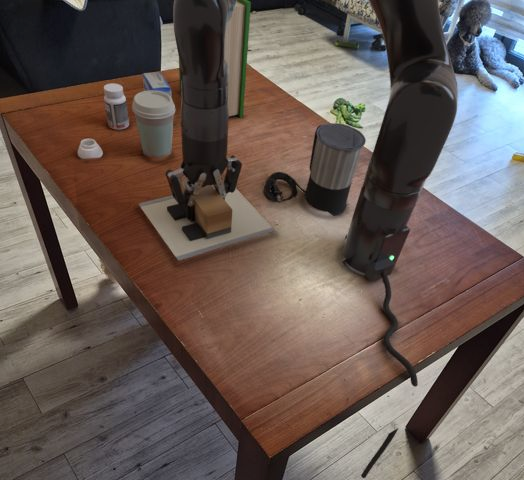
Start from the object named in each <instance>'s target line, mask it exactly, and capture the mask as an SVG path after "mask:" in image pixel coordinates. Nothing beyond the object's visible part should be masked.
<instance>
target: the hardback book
mask: <svg viewBox="0 0 524 480" xmlns="http://www.w3.org/2000/svg"><path fill="white" fill-rule="evenodd" d="M251 4H252V2H251V1H249V0H237V2H236V5H235V8H234V11H233V14H232V16H231V18H230V20H229V22H228V24H227V25H226V31H225V56H224V59H225V60H226V62H227V65H228V74H229V75H228V112H229V117H234V116H237V117H238V118H240V119H242V118H243V117H244V110H245V109H244V108H245V107H244V106H245V95H246V94H245V93H246V82H247V81H246V78H247V65H248V51H249V39H250V38H249V37H250V36H249V35H250V23H251V22H250V21H251V7H252V5H251ZM178 70H179V72H178V75H179V94H181V95H182V92H181V63H180V59H179V58H178Z"/></svg>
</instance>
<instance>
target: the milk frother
mask: <svg viewBox="0 0 524 480" xmlns="http://www.w3.org/2000/svg"><path fill="white" fill-rule="evenodd" d="M313 136H314V137H313V142H312V149H311V154H310V155H311V156H310V160H309V161H310V162H309V171H310V172H309V177H308V181H307V185H306V189H304V188H302V187H301V185H300V184H299V183H298V182H297V180H295V179H294V178H293V177H292V176H291V175H289V174H288V173H287V172H282V171H277V172H276V171H275V172H274V173H271V174H270V175H269V176H268V178H266V180H265V183H264V186H263V192H264V195H265V197H266V198H267V199H268V200H269V201H271V202H275V203H283V202H286V201H290V200H292V199H296V197H297V196H298V189H299V190H300V191H301V192H302V193H303V194H304V200H305V202H306V203H307V204H308V205H309V206H310V207H312V208H313V209H315V210H318V211H321V212H325V213H328V214H329V215H332V217H336V216H340V215H341V214H344V212H345V211H346V209H347V202H348V198H349V195H350V190H351V187H352V183H353V180H354V177H355V174H356V170H357V167H358V164H359V160H360V157H361V155H362V150H363V147H364V146H365V145H366V141H367V140H366V139H367V138H366V137H365V135H364V134H363V132H361V130H358V129H357V128H355V127H353V126H351V125H348V124H344V123H341V122H339V123H338V122H337V123H334V122H330V123H325V124H320V125H318V126H317V127H316V129H315V132H314V135H313ZM279 180H280V181H284V182H286V183H287V184H288V185H289V186H290V190H291V193H290V195H289V196H288V197H286V198H281V197H282V195H283V193H284V192H283V191H282V190H281V189H280V186H279V185H278V184H277V181H279Z"/></svg>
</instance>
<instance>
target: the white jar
mask: <svg viewBox="0 0 524 480" xmlns="http://www.w3.org/2000/svg"><path fill="white" fill-rule="evenodd" d="M103 155H104V152H103V149H102V148H101V146H100V144H98V143H97V141H96V140H95V139H93V138H84V139H81V141H80V143H79V146H78V149H77V156H78V157H79V158H80V159H82V160H83V159H85V160H86V159H99V158H102V157H103Z"/></svg>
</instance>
